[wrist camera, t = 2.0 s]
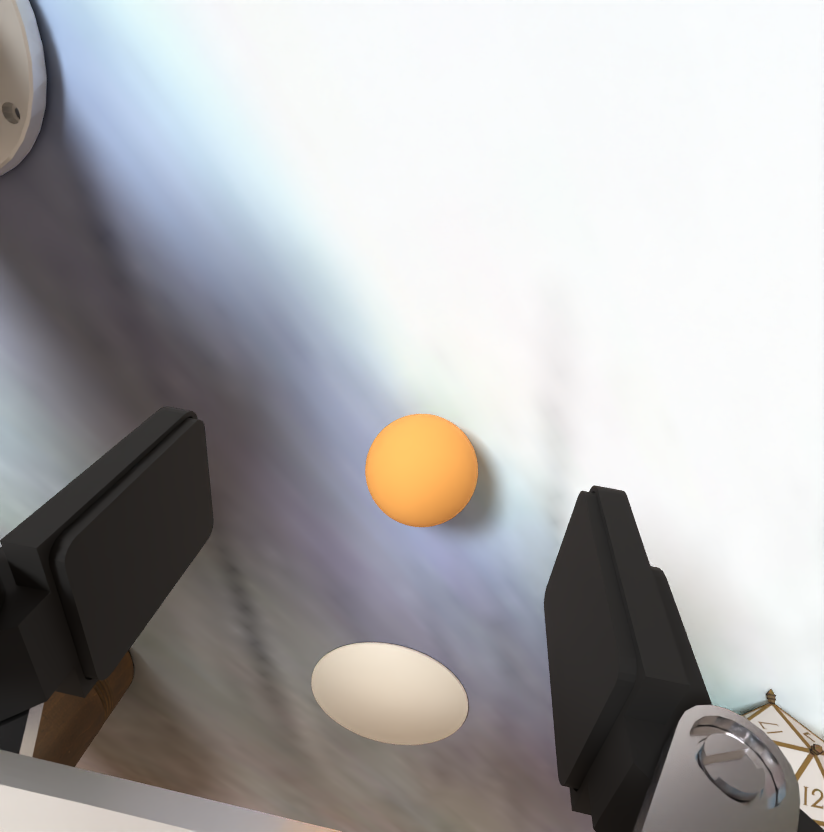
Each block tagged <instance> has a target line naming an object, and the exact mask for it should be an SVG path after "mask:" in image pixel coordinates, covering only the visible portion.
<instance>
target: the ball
mask: <svg viewBox="0 0 824 832" xmlns="http://www.w3.org/2000/svg"><path fill="white" fill-rule="evenodd" d="M365 475H366V481H367V486H368V489H369V491H370V494H371V496H372V498H373V500H374V501H375V503H376V504H377V505H378V507H379V508H380V509H381V510H382V511H383V512H384V513H385V514H386V515H388V516H389V517H390V518H392V519H394V520H395V521H398V522H400V523H402V524H405V525H409V526H414V527H430V526H435V525H439V524H441V523H444V522H446V521H448V520H450V519H452V518H453V517H455V516H456V515H457V514H458V513H460V512H461V511H462V510H463V509H464V507H465V506H466V505H467V503H468V502H469V501H470V499H471V497H472V495H473V493H474V490H475V487H476V484H477V478H478V463H477V457H476V454H475V451H474V448H473V446H472V444H471V442H470V441H469V439H468V438H467V436H466V435H465V434H464V433H463V432H462V431H461V430H460V429H459V428H458V427H457V426H456V425H454V424H453V423H451V422H450V421H448V420H446V419H444V418H441V417H438V416H435V415H430V414H414V415H409V416H405V417H402V418H399V419H397V420H395V421H394V422H392V423H390V424H389V425H388V426H386V427H385V428H384V429H383V430H382V431H381V432H380V433H379V434H378V435H377V437H376V438H375V440H374V441H373V443H372V445H371V447H370V449H369V452H368V455H367V459H366V468H365Z"/></svg>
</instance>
